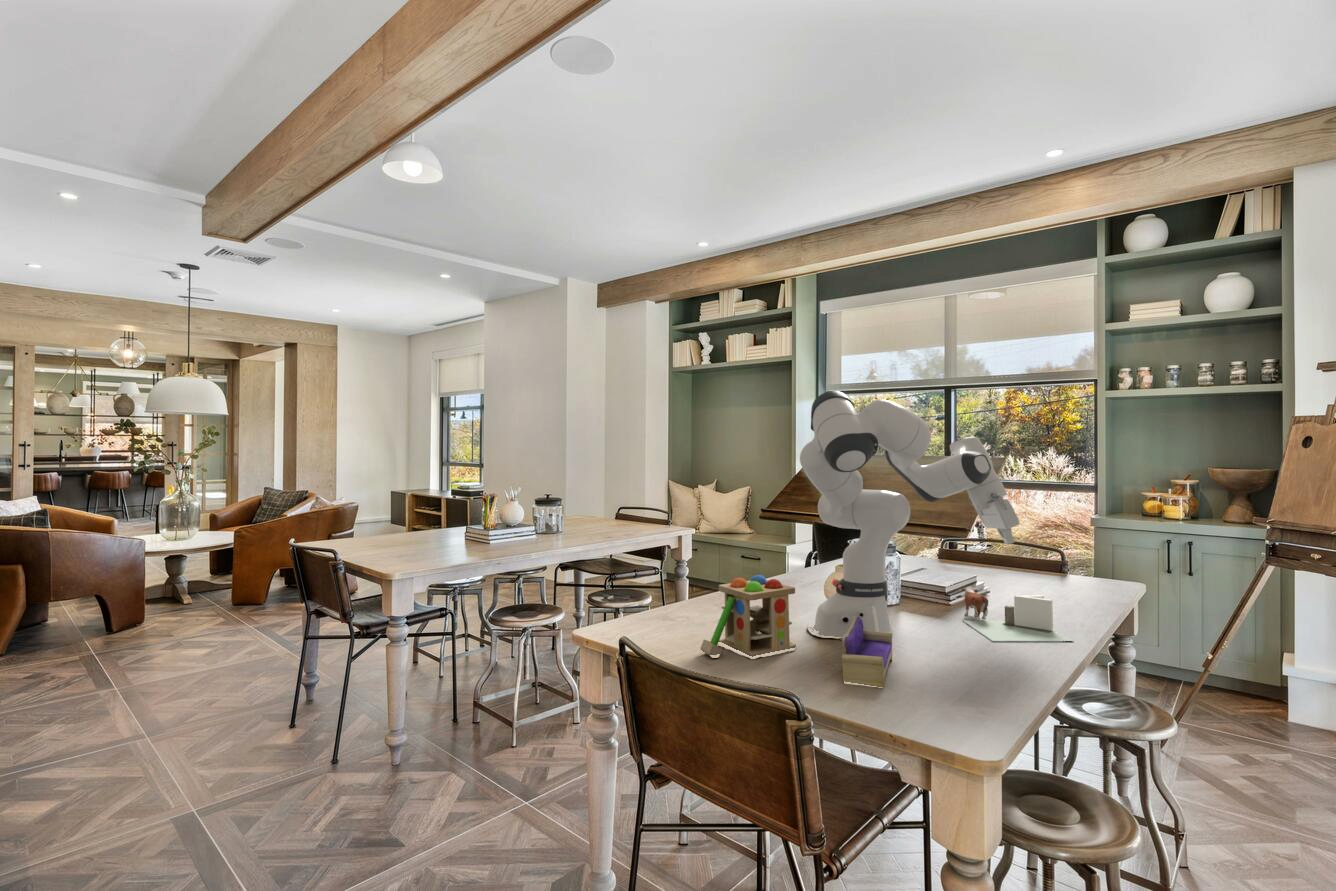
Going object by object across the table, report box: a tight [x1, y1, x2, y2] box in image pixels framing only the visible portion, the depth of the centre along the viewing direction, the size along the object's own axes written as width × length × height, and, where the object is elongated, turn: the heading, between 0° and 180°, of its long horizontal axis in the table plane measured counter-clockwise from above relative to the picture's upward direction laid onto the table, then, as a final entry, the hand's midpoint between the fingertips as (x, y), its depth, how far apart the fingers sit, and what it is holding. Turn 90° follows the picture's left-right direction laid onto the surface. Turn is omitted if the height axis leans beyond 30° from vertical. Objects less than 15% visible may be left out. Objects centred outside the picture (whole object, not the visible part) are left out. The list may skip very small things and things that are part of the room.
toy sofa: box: [841, 617, 893, 689], centre depth 148 cm, size 21×9×10 cm, turn 156°
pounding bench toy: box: [700, 574, 797, 657], centre depth 165 cm, size 23×14×18 cm, turn 120°
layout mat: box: [963, 620, 1074, 643], centre depth 178 cm, size 20×20×1 cm
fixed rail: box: [1004, 594, 1045, 625], centre depth 183 cm, size 10×2×8 cm, turn 86°
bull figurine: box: [961, 586, 989, 621], centre depth 193 cm, size 4×13×8 cm, turn 174°
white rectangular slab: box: [1013, 594, 1054, 631], centre depth 179 cm, size 9×2×8 cm, turn 47°
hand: (1010, 543), depth 174 cm, fingers closed
